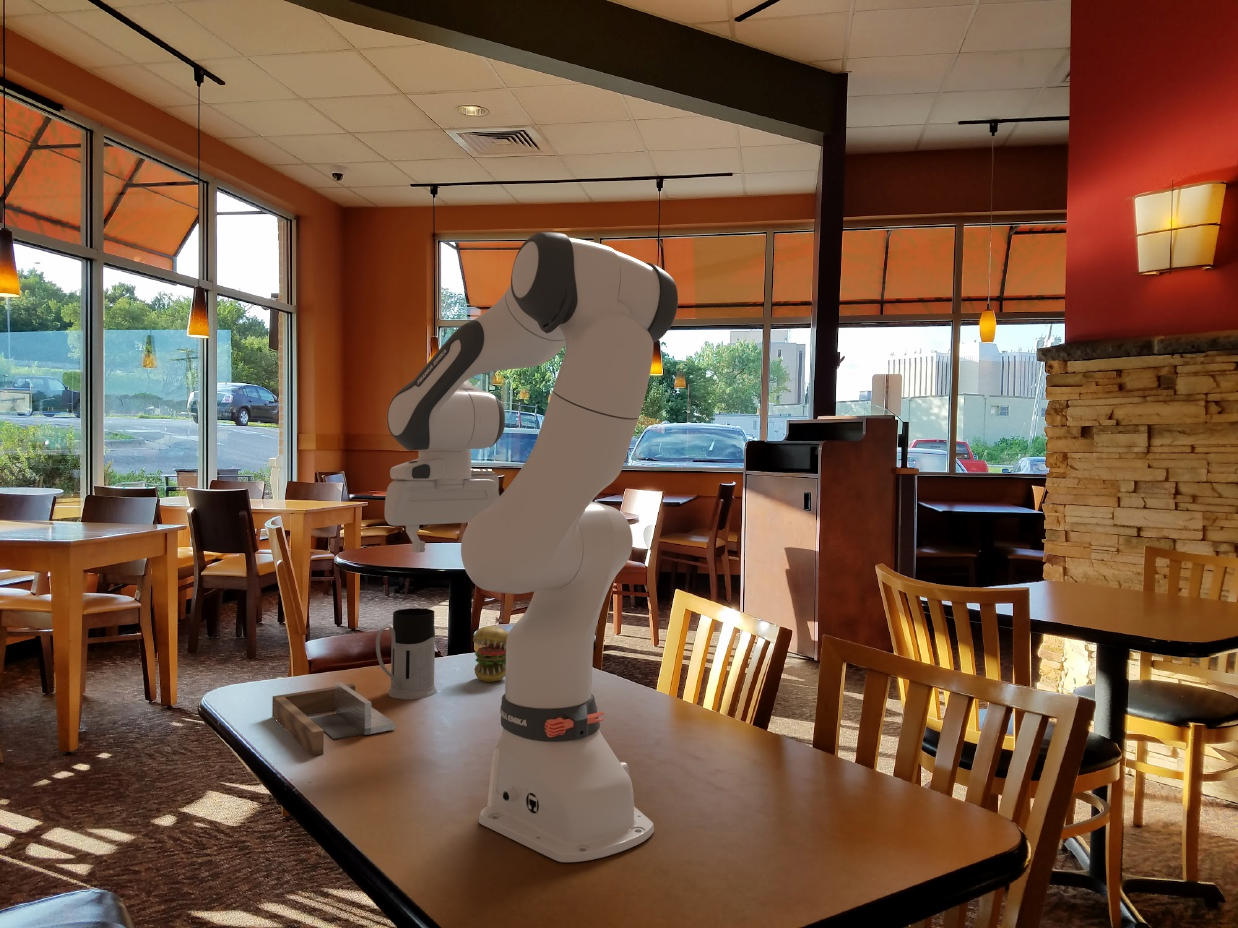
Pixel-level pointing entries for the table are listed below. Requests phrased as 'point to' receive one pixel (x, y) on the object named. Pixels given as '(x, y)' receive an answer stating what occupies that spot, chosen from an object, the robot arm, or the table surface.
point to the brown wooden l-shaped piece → (311, 730)
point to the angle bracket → (359, 711)
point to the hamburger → (491, 653)
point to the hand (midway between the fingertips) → (444, 550)
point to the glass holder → (411, 653)
